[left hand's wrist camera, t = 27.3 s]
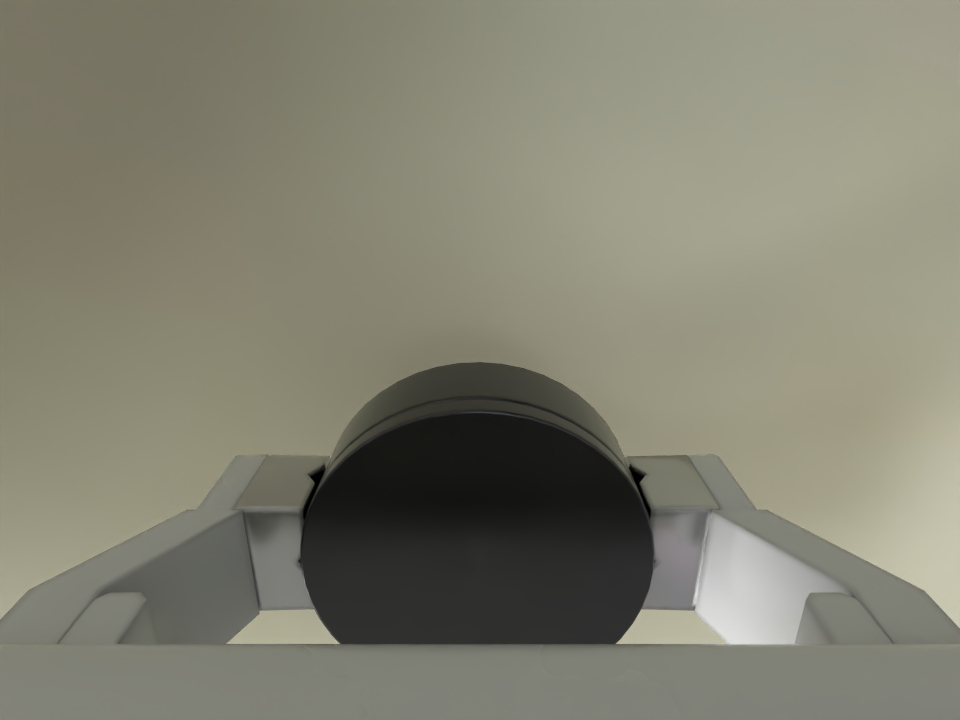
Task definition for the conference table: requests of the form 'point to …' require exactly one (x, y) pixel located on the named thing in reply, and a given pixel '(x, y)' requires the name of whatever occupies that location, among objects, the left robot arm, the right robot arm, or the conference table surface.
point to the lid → (477, 517)
